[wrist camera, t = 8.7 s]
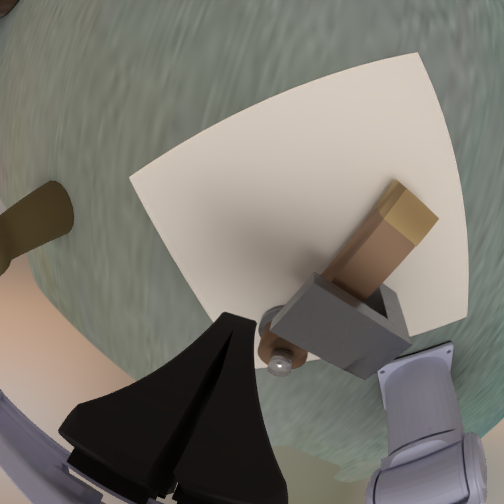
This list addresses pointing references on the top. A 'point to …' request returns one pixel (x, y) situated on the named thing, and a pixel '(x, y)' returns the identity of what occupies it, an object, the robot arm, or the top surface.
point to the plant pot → (6, 6)
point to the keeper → (339, 328)
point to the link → (368, 256)
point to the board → (313, 194)
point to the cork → (34, 222)
